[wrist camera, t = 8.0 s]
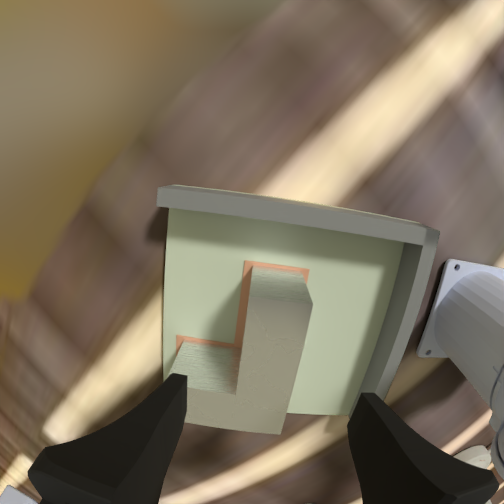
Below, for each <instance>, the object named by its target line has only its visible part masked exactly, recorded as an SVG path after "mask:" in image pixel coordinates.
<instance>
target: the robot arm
mask: <svg viewBox="0 0 504 504" xmlns="http://www.w3.org/2000/svg"><path fill="white" fill-rule="evenodd" d="M456 264H457V268H456V269H454V267H455V265H456ZM428 350H429V351H428ZM427 351H428V352H427ZM426 352H427V353H426ZM416 353H417V355H418V356H419V357H420V358H450V359H451V360H452V362H453V363H454V364H455V365H456V366H457V367H458V369H459V370H460V371H461V372H462V373H463V375H464V376H465V377H466V378H467V380H468V381H469V382H470V383H471V384H472V386H473V387H474V388H475V389H476V391H477V392H478V393H479V394H480V396H481V397H482V398H483V399H484V401H485V402H486V403H487V405H488V406H489V407H490V408H491V410H492V416H491V419H490V421H489V423H490V424H491V426H492V427H493V429H494V430H495V432H496V435H495V436H494V438H493V441H492V445H491V457H492V461H493V464H494V467H495V468H496V470H497V472H498V473H499V475H500V476H501V477H502V478H503V479H504V268H499V267H493V266H488V265H483V264H477V263H472V262H467V261H461V260H456V259H448V260H447V261H446V263H445V265H444V269H443V273H442V276H441V280H440V284H439V287H438V290H437V294H436V297H435V300H434V303H433V306H432V309H431V312H430V315H429V318H428V321H427V324H426V327H425V330H424V332H423V335H422V338H421V341H420V343H419V346H418V348H417V351H416ZM187 381H188V375H182V374H177V373H172V374H170V375H169V376H168V378H167V379H166V380H165V381H164V382H163V383H162V384H161V385H160V386H159V387H158V388H157V389H156V390H155V391H154V392H153V393H151V394H150V395H149V396H148V397H147V398H146V399H145V400H144V401H142V402H141V403H140V404H139V405H137V406H136V407H135V408H134V409H132V410H131V411H130V412H128V413H127V414H125V415H124V416H123V417H121V418H119V419H118V420H116V421H115V422H113V423H111V424H109V425H108V426H106V427H104V428H102V429H100V430H98V431H96V432H94V433H92V434H89V435H87V436H84V437H81V438H79V439H76V440H73V441H70V442H66V443H62V444H58V445H54V446H49V447H45V448H44V449H43V451H42V452H41V453H40V454H39V455H38V457H37V458H36V460H35V461H34V463H33V464H32V466H31V467H30V469H29V470H28V477H29V479H30V481H31V483H32V484H33V486H34V487H35V488H36V490H37V491H38V493H39V494H40V495H41V497H42V500H41V502H40V504H158V502H159V498H160V494H161V489H162V485H163V481H164V478H165V475H166V472H167V469H168V466H169V464H170V461H171V458H172V456H173V453H174V451H175V448H176V445H177V443H178V440H179V438H180V435H181V432H182V429H183V425H184V421H185V417H186V412H187ZM347 428H348V438H349V445H350V449H351V453H352V456H353V460H354V464H355V468H356V471H357V475H358V479H359V482H360V487H361V492H362V500H363V504H485V503H486V502H487V501H488V500H489V499H490V498H491V497H492V496H493V495H494V494H495V493H496V491H497V490H498V488H499V483H498V481H497V479H496V477H495V476H494V474H493V472H492V471H491V470H487V469H484V468H480V467H477V466H474V465H471V464H468V463H466V462H464V461H461V460H459V459H457V458H455V457H453V456H451V455H449V454H447V453H445V452H443V451H442V450H440V449H438V448H437V447H435V446H434V445H432V444H431V443H429V442H428V441H427V440H425V439H424V438H423V437H421V436H420V435H419V434H418V433H416V432H415V431H414V430H413V429H412V428H410V427H409V426H408V425H407V424H406V423H405V422H404V421H403V420H402V419H401V418H400V417H399V416H398V415H397V414H396V413H395V412H394V411H393V410H392V409H391V408H390V407H389V406H388V405H387V404H386V403H385V402H384V401H383V400H382V399H381V398H380V397H378V396H377V395H376V394H375V393H365V392H361V394H360V397H359V399H358V402H357V404H356V406H355V409H354V411H353V413H352V416H351V418H350V420H349V422H348V425H347ZM0 504H39V503H38V502H36V501H35V500H34V499H32V498H31V497H29V496H27V495H26V494H24V493H22V492H21V491H19V490H17V489H16V488H14V487H12V486H11V485H7V487H6V488H5V490H4V491H3V493H2V494H1V496H0Z"/></svg>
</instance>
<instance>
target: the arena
mask: <svg viewBox="0 0 504 504" xmlns="http://www.w3.org/2000/svg"><path fill="white" fill-rule="evenodd" d="M156 206H159V207H168V208H169V216H168V229H167V243H166V260H165V280H164V312H163V377H164V381H165V380H166V379H167V377H168V375H169V372H170V370H171V368H172V366H173V363H174V361H175V359H176V357H177V354H178V352H179V350H180V348H181V345H182V343H183V341H184V339H185V340H191V341H197V342H203V343H209V344H216V345H222V346H229V347H237V348H242V343H243V336H244V328H245V321H246V313H247V306H248V299H249V291H250V284H251V276H252V269H253V265H258V266H265V267H273V268H281V269H288V270H296V271H302V274H303V277H304V280H305V282H306V285H307V288H308V291H309V294H310V297H311V299H312V302H313V308H312V312H311V317H310V321H309V326H308V330H307V335H306V339H305V343H304V347H303V352H302V356H301V360H300V364H299V368H298V372H297V376H296V379H295V383H294V387H293V391H292V395H291V398H290V402H289V406H288V409H287V413H297V414H317V415H349V419H350V418H351V416H352V413H353V411H354V409H355V406H356V404H357V402H358V399H359V397H360V394H361V392H365V393H375V394H376V395H377V396H378V397H380V398H381V399H382V400H383V401H384V399H385V397H386V395H387V392H388V390H389V388H390V386H391V383H392V381H393V379H394V376H395V374H396V372H397V369H398V367H399V364H400V362H401V359H402V357H403V354H404V352H405V349H406V346H407V344H408V341H409V338H410V335H411V333H412V330H413V327H414V324H415V321H416V318H417V315H418V312H419V309H420V306H421V303H422V300H423V296H424V293H425V290H426V286H427V283H428V279H429V275H430V272H431V268H432V264H433V260H434V256H435V252H436V248H437V244H438V239H439V235H440V231H438V230H435V229H433V228H431V227H428V226H426V225H423V224H421V223H418V222H414V221H409V220H404V219H399V218H394V217H389V216H384V215H379V214H374V213H368V212H363V211H358V210H352V209H346V208H341V207H335V206H329V205H323V204H317V203H311V202H305V201H298V200H292V199H285V198H278V197H272V196H264V195H257V194H250V193H242V192H235V191H227V190H218V189H210V188H201V187H192V186H183V185H169V186H164V187H158V194H157V205H156Z"/></svg>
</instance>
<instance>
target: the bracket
mask: <svg viewBox="0 0 504 504" xmlns="http://www.w3.org/2000/svg"><path fill="white" fill-rule="evenodd" d="M312 308H313V302H312V299H311V297H310V294H309V291H308V288H307V285H306V282H305V280H304V277H303V274H302V271H296V270H288V269H281V268H273V267H265V266H258V265H253V269H252V276H251V284H250V291H249V299H248V306H247V313H246V321H245V328H244V336H243V343H242V348H237V347H229V346H222V345H216V344H209V343H203V342H197V341H191V340H185V339H184V341H183V343H182V345H181V348H180V350H179V352H178V354H177V357H176V359H175V361H174V363H173V366H172V368H171V370H170V372H169V375H170V374H172V373H177V374H182V375H188V381H187V412H186V417H185V421H184V422H187V423H192V424H198V425H204V426H210V427H217V428H223V429H231V430H239V431H247V432H257V433H268V434H281V430H282V427H283V423H284V420H285V416H286V413H287V409H288V406H289V402H290V398H291V395H292V391H293V387H294V383H295V379H296V376H297V372H298V368H299V364H300V360H301V356H302V352H303V347H304V343H305V339H306V335H307V330H308V326H309V321H310V317H311V312H312ZM169 375H168V376H169ZM167 378H168V377H167Z"/></svg>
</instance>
